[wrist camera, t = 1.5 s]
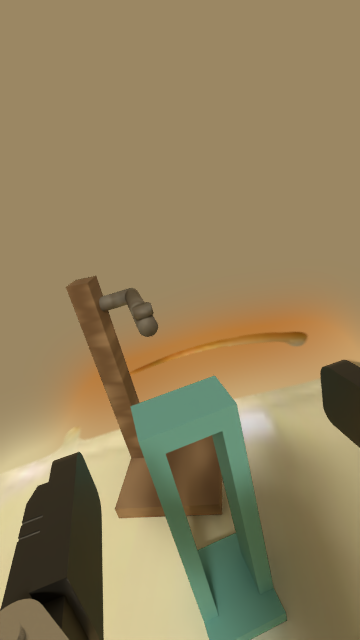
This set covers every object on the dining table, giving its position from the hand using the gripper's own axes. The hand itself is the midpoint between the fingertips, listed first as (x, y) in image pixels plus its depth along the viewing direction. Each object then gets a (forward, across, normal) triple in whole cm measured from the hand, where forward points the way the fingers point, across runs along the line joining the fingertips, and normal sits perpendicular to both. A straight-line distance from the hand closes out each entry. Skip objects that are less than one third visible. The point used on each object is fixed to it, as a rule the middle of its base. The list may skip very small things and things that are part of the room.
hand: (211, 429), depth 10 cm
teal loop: (+10, 0, +24) cm, 26 cm away
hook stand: (+23, +1, +24) cm, 33 cm away
